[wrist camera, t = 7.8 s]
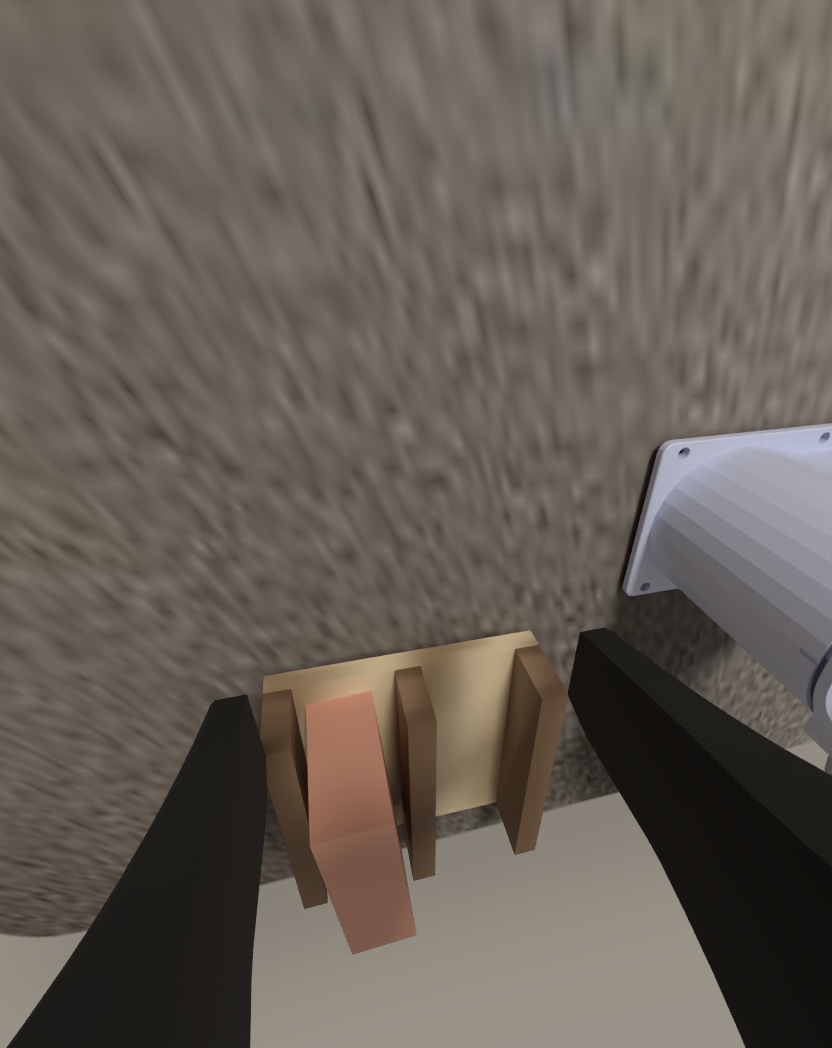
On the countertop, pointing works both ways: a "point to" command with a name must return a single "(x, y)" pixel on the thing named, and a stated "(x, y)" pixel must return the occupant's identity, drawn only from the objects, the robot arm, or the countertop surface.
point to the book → (356, 823)
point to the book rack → (426, 740)
